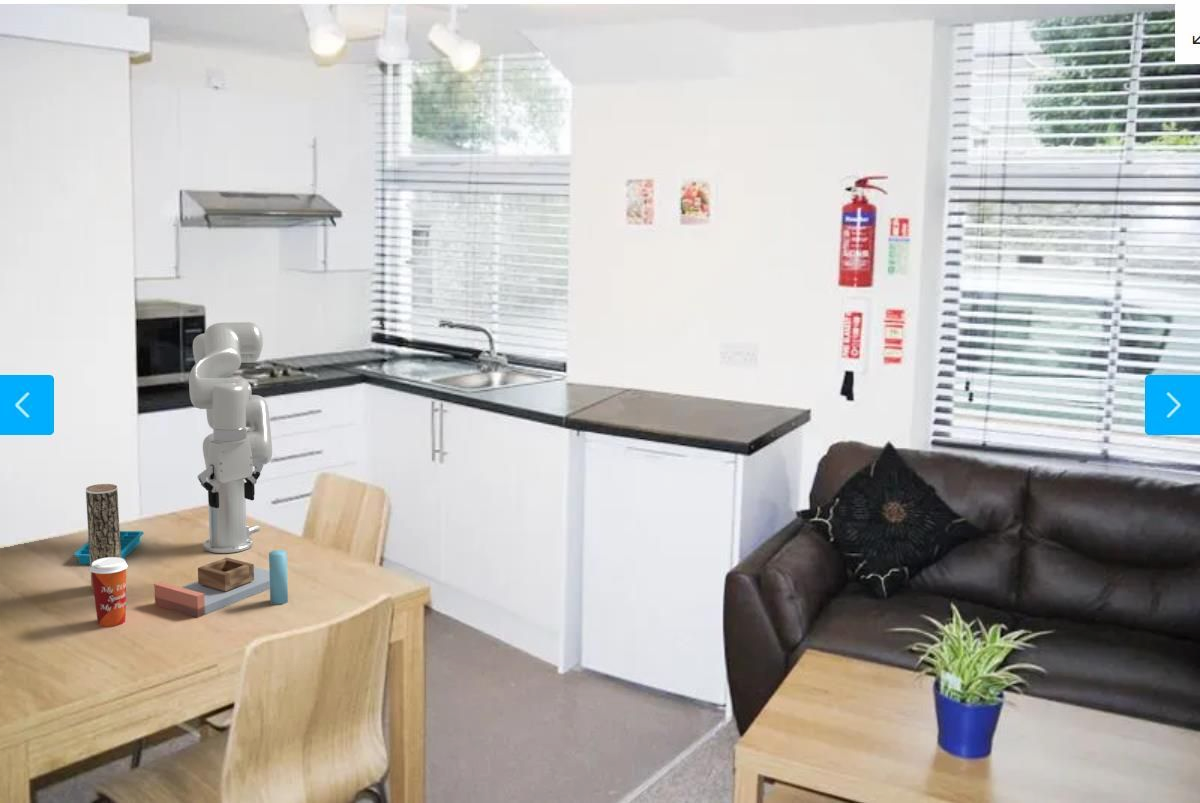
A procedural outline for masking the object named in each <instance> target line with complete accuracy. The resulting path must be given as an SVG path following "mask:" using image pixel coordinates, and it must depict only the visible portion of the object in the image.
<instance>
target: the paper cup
mask: <svg viewBox="0 0 1200 803" xmlns="http://www.w3.org/2000/svg"><path fill="white" fill-rule="evenodd" d="M128 566H129V565H128V564H127V562H126V559H125V558H124V559H122V558H118V557H108V558H102V559H98V560H96V561H94V562H93V563H92V565H91V568H90V567H89V572H90V571H91V572H92V580H93V588H94V590H93V594H94V604H95V611H96V619H97V624H98V626H99V627H104V628H107V627H108V628H111V627H116V626H120V625H122V624H124V623H126V610H127V607H126V606H127V568H128Z"/></svg>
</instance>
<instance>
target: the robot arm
mask: <svg viewBox="0 0 1200 803" xmlns="http://www.w3.org/2000/svg"><path fill="white" fill-rule="evenodd" d="M263 344H264V338H263V333H262V331H261V329H260V327H259V325H257V324H256V323H254V322H251V321H248V322H246V321H245V322H243V321H242V322H236V321H234V322H217V323H213V324H211V325H209V326H208V327H207V328H206V329H205V332H204V333H200V334H198V335H196V336H195V337H194V339H193V341H192V353H193V359H194V362H195V364H194V365H193V367H192V368H191V371H190V374H189V378H188V384H189V385H188V386H189V399H190V401H191V404H192V406H193V407H195V408H197V409H198V410H199V409H200V410H205V411H206V420H207V424H208V426H209V427H210V428H211V429H212V433H210V434H208V435H207V436H206V437H205V438H204V439H203V440H202V441H203V443H202V454H203V458H204V464H205V470H203V471H202V472H200V473H199V474H198V475H197V479H198V481H199V483H200V485H201V486H202V487H203V488H204V489H205V490H206V491H207V502H208V503H207V505H208V508H207V509H208V529H209V530H208V531H209V532H208V534H209V536H208V537H209V539H207V540H205V541H204V542H203V549H204V550H205V551H207V552H211V553H217V554H232V553H233V554H234V553H239V552H242V551H246V550H248V549H250V548H251V547H252V546H253V545H254V541H253V539H252V538H251V537H250V536H252V534H255V533H258V532H260V525H257V524H255V525H253V526H248V525H247V504H246V503H247V502H246V500H249V501H254V500H255V490H256V489H255V485H256V484H257V480H258V479H259V477H260V476H261V473H262V471H263V467H264V466H265V465H267V464H269V463H270V462H271V460H272V455H273V444H272V433H271V432H272V430H271V423H270V422H271V421H270V411H269V406H268V403H267V401H266V399H265V398H264V397H263V396H261V395H258V394H252V385H251V384H250V383H249V381H248V379H246V378H244V377H235V376H234V374H235V373H236V372H237V371H238V370H239V369H240V367H241V365H242V363H254V362H257V360H259V358H260V356H261V352H262V350H263ZM253 469H254V470H253Z"/></svg>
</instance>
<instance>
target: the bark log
mask: <svg viewBox="0 0 1200 803" xmlns="http://www.w3.org/2000/svg"><path fill="white" fill-rule="evenodd" d="M85 500H86V502H85V503H86V517H87V535H88V536H87V537H88V541H89V555H90V564H89V569H90V568H91V565H92V563H93V562H94V561H96V560H98V559H102V558H108V557H118V558H121V550H120V531H121V530H120V516H119V514H120V512H119V495H118V486H117V485H116V484H113V483H112V484H111V483H99V484H92V485H90V486H87V487H85ZM89 572H90V584H91V586H90V587H91V589H92V590H93V591H94V588H93V580H92V572H91V571H90V570H89Z"/></svg>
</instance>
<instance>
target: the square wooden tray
mask: <svg viewBox="0 0 1200 803" xmlns="http://www.w3.org/2000/svg"><path fill="white" fill-rule="evenodd" d="M254 565H255V564H253V563H250V562H246V561H242V560H238V559H235V558H231V557H224V558H221V559H219V560H216V561H213V562H211V563H208V564H205V565H202V566H199V567H197V579H198V580H197V581H198V584H201V585H205V586H208V587H212V588H216V589H219V590H223V591H227V590H230V589H233V588H235V587H238V586H240V585H243V584H245V583H248V582H251V581H253V580H254V567H255V566H254Z"/></svg>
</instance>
